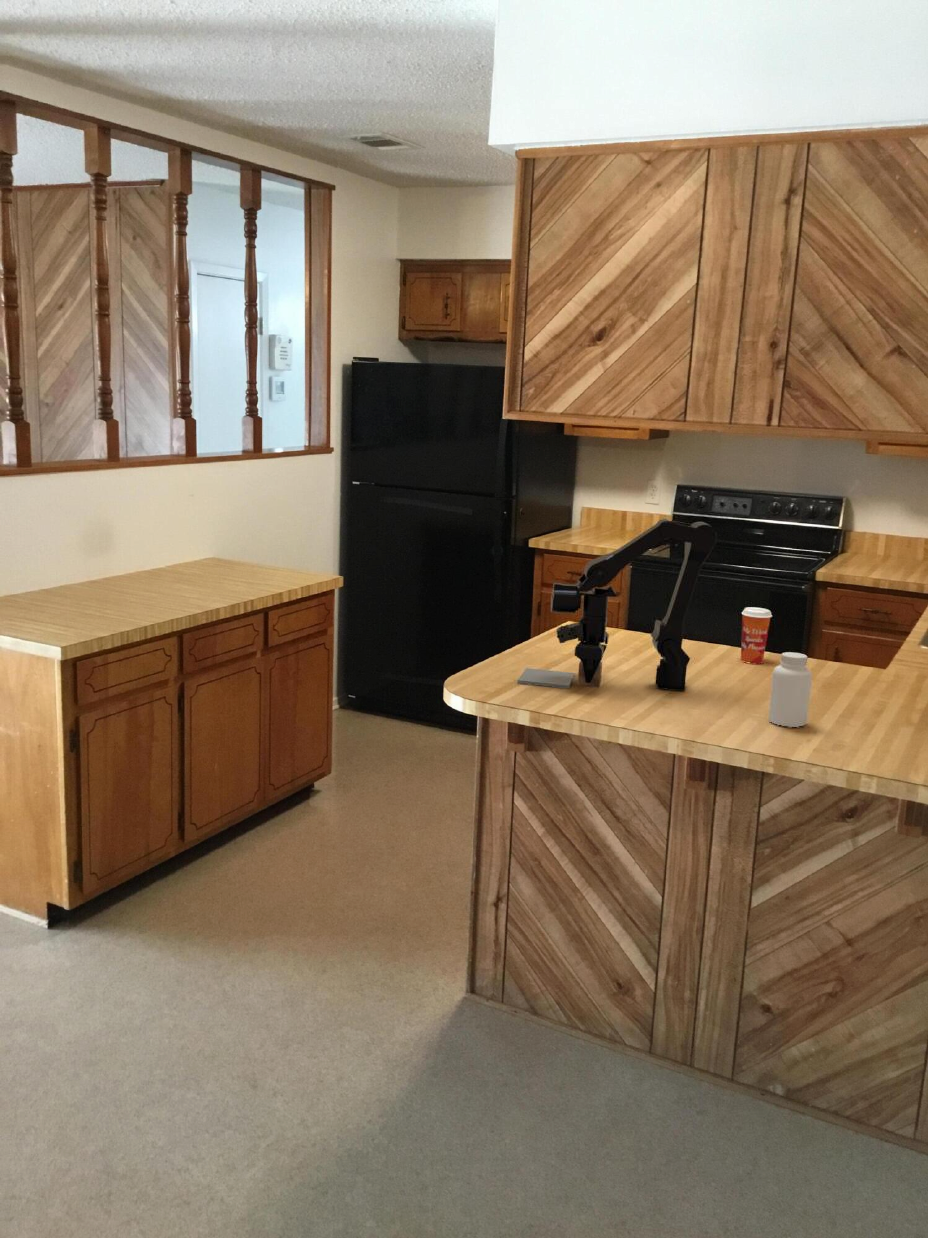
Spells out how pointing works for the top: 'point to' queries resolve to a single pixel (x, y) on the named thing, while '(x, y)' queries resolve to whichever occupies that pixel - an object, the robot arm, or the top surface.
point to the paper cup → (754, 634)
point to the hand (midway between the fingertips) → (589, 678)
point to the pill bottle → (790, 691)
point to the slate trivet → (546, 678)
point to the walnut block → (595, 680)
